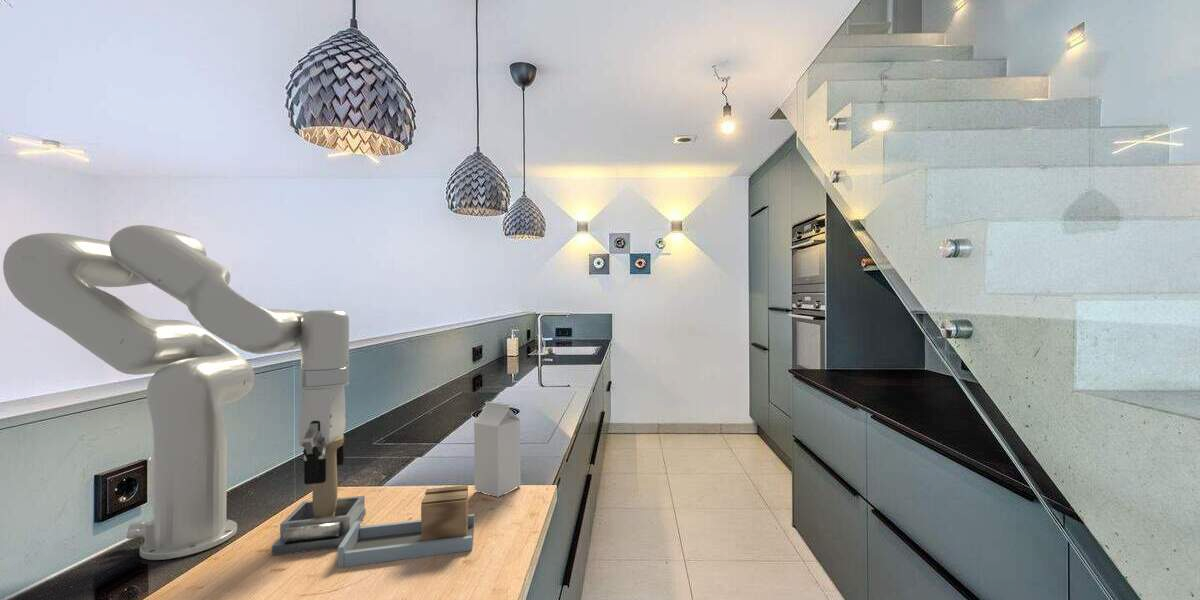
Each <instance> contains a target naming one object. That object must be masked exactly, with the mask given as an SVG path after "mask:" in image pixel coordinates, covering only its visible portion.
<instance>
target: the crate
mask: <svg viewBox="0 0 1200 600" xmlns="http://www.w3.org/2000/svg"><path fill="white" fill-rule="evenodd" d="M424 494H425V495H424V497H423V499H422V500H421V505H420V517H421V518H420V520H421V542H423V541H431V540H439V539H448V538H456V537H464V536H467V532H468V514H469V485H468V484H465V485H455V486H446V487H445V486H444V487H436V488H426V490H425V491H424Z"/></svg>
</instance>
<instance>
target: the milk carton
mask: <svg viewBox="0 0 1200 600" xmlns="http://www.w3.org/2000/svg"><path fill="white" fill-rule="evenodd" d="M484 403H485V405H484V408H483V409H482V410H481V412H480V413H479V415H478V416H477V418H476V419H475V421H474V422H473V423H474V424H473V429H474V430H473V432H474V433H473V438H474V439H473V441H474V442H473V443H474V445H473V446H474V447H473V448H474V452H473V453H474V454H473V455H474V457H473V458H474V461H473V462H474V491H475V490H477V491H480V492H484V493H487V494H490V495H494V496H497V497H499V496H501V495H503V494H504V493H506V492H509V491H510V490H512V489H514V488H515V487H519V486H521V487H522V471H521V469H522V467H521V466H522V465H521V459H522V457H521V419H520V418H519V417H518V416H517V415H516V414H515V413H514V412H513V411H512V410H511V409H510V404H509V403H503V402H502V403H501V402H494V401H493V402H492V401H485V402H484ZM519 488H520V487H519ZM509 493H510V492H509ZM503 496H504V495H503ZM497 497H496V498H497ZM501 497H502V496H501ZM499 498H500V497H499Z"/></svg>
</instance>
